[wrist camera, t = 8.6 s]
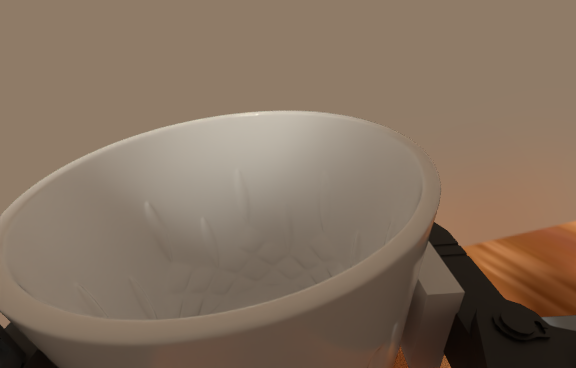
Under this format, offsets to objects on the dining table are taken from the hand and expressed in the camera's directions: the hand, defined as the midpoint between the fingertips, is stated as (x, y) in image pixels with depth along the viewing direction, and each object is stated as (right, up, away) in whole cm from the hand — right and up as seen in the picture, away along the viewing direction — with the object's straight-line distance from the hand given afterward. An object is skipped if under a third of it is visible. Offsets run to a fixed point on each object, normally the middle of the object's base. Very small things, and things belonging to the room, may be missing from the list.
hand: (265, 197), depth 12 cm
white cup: (+1, -8, -1) cm, 8 cm away
